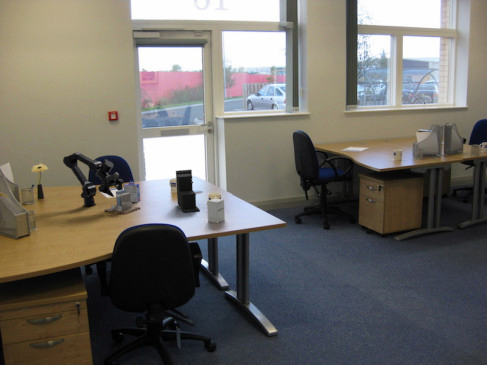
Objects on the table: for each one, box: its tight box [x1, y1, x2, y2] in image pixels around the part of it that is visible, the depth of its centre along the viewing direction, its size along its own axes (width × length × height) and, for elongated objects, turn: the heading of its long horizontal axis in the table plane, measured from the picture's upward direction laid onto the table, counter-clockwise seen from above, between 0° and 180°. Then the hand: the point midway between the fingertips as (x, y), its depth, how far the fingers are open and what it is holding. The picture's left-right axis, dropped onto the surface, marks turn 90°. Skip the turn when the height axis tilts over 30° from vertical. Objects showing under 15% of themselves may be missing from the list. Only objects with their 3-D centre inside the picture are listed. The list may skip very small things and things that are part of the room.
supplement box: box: [206, 198, 226, 224], centre depth 271 cm, size 7×7×13 cm
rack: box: [104, 193, 141, 215], centre depth 303 cm, size 18×14×11 cm
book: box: [115, 189, 126, 206], centre depth 302 cm, size 3×6×12 cm, turn 151°
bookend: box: [175, 169, 201, 214], centre depth 302 cm, size 23×11×24 cm, turn 17°
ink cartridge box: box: [123, 180, 141, 203], centre depth 325 cm, size 10×6×14 cm, turn 83°
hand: (118, 195), depth 303 cm, fingers open, 9 cm apart
